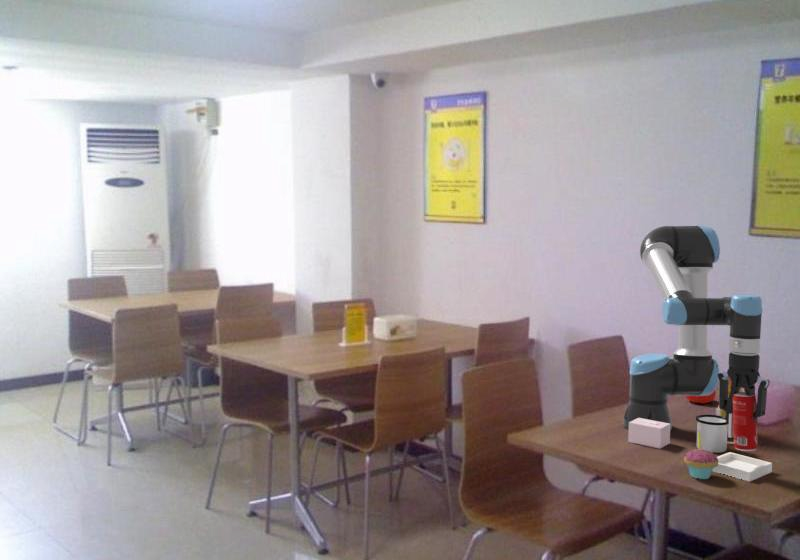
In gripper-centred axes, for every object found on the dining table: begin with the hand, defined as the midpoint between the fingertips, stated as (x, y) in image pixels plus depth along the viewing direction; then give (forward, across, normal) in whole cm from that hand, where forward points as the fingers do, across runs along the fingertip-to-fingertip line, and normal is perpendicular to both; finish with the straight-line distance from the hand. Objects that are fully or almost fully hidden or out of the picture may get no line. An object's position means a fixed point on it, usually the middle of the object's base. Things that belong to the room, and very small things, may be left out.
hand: (740, 438), depth 214 cm
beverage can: (+3, +1, 0) cm, 3 cm away
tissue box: (+9, -30, +3) cm, 32 cm away
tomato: (+9, -47, +60) cm, 77 cm away
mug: (+9, -14, +13) cm, 21 cm away
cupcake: (+9, -4, -12) cm, 16 cm away
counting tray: (+9, 0, 0) cm, 9 cm away
